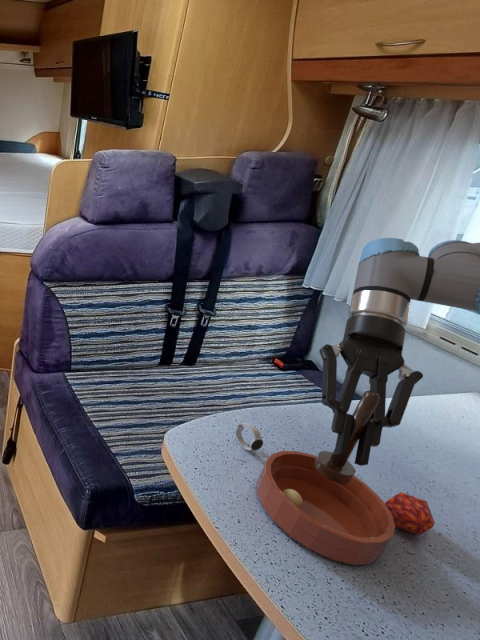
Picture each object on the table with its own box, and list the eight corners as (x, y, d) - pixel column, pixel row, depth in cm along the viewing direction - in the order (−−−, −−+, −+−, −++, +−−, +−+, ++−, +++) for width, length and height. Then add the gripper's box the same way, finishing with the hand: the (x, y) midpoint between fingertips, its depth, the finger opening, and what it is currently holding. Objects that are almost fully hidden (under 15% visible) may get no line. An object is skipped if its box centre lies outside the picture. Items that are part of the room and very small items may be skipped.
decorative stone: (412, 531, 80) (436, 554, 73) (367, 507, 83) (386, 527, 75) (430, 500, 79) (456, 520, 72) (384, 476, 82) (405, 493, 75)
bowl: (369, 504, 82) (382, 481, 80) (390, 590, 68) (407, 566, 66) (256, 458, 90) (265, 436, 88) (254, 526, 76) (265, 502, 74)
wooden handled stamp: (348, 468, 78) (391, 390, 71) (352, 489, 74) (398, 407, 67) (312, 455, 80) (351, 377, 74) (315, 474, 76) (356, 394, 70)
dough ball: (298, 503, 80) (304, 490, 79) (299, 515, 78) (305, 503, 77) (278, 494, 81) (284, 481, 80) (278, 506, 79) (284, 494, 78)
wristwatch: (247, 456, 90) (255, 436, 88) (229, 437, 95) (237, 418, 93) (259, 455, 91) (268, 435, 89) (241, 436, 95) (249, 417, 93)
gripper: (421, 345, 78) (400, 484, 71) (315, 315, 85) (287, 440, 78) (447, 331, 72) (426, 483, 65) (330, 301, 78) (300, 435, 71)
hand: (350, 459), depth 71 cm, fingers closed on wooden handled stamp, 2 cm apart
